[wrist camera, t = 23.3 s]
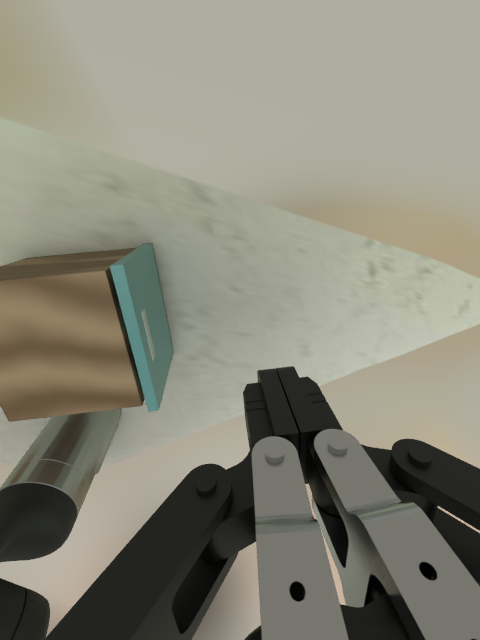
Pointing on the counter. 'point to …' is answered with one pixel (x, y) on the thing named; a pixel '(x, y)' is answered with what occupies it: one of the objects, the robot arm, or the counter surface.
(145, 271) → the drawer
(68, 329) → the cabinet
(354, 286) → the counter surface
